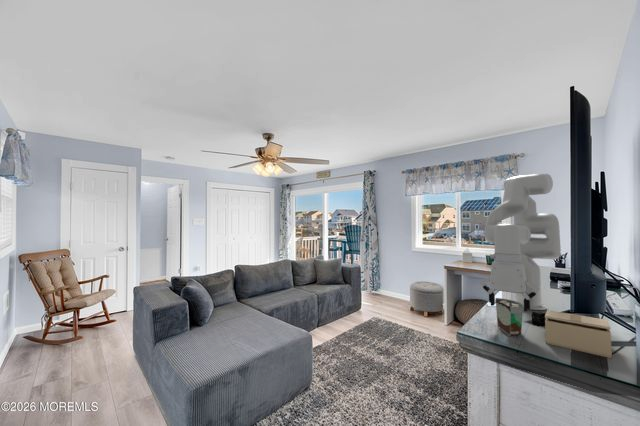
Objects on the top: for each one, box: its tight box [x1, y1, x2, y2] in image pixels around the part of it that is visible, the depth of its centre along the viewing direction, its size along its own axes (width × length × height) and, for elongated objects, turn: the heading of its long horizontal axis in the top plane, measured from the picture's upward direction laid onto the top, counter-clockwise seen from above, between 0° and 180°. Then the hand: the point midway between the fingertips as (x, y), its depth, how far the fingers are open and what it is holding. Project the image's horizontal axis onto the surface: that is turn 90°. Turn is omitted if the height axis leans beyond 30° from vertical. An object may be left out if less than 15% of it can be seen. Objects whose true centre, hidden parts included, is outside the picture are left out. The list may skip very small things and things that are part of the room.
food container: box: [495, 297, 526, 337], centre depth 93 cm, size 12×6×10 cm, turn 168°
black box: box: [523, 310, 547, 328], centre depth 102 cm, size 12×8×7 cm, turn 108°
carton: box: [544, 318, 613, 359], centre depth 83 cm, size 11×14×7 cm
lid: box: [545, 309, 611, 330], centre depth 83 cm, size 11×14×1 cm
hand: (508, 307), depth 94 cm, fingers open, 9 cm apart
